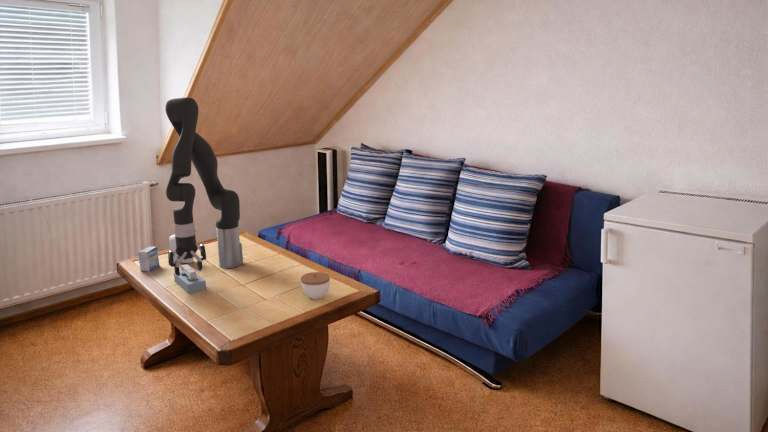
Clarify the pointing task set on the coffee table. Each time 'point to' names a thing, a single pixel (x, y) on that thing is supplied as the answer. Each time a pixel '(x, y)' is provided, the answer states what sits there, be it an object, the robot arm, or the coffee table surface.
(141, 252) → the medicine box
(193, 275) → the metal block
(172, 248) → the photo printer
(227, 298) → the coffee table surface
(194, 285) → the blue-grey slotted block
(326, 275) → the lidded jar
